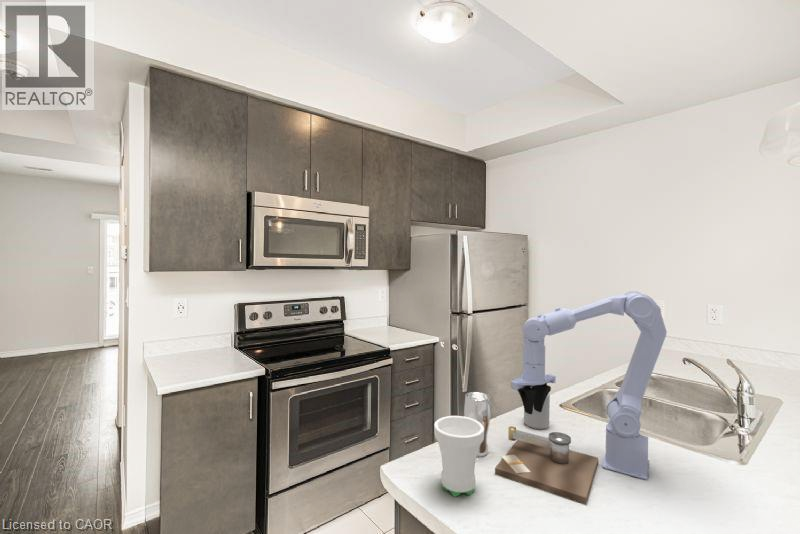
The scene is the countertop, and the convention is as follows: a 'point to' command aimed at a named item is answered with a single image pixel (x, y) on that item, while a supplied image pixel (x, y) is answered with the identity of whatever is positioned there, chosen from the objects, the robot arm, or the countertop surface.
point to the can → (538, 416)
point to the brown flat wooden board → (549, 470)
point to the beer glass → (479, 414)
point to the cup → (458, 451)
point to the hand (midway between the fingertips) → (533, 411)
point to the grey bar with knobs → (545, 443)
